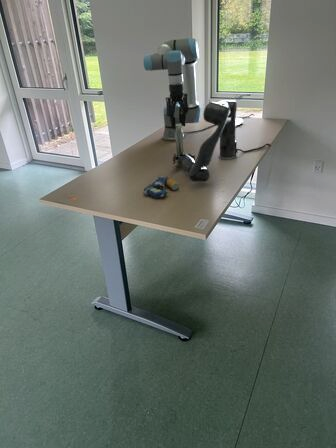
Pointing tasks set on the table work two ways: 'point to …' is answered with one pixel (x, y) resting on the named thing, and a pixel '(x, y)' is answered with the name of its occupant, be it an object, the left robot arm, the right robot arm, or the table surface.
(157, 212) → the table surface
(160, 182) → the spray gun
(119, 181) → the table surface
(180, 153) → the bottle
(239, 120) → the spoon
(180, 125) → the cap
